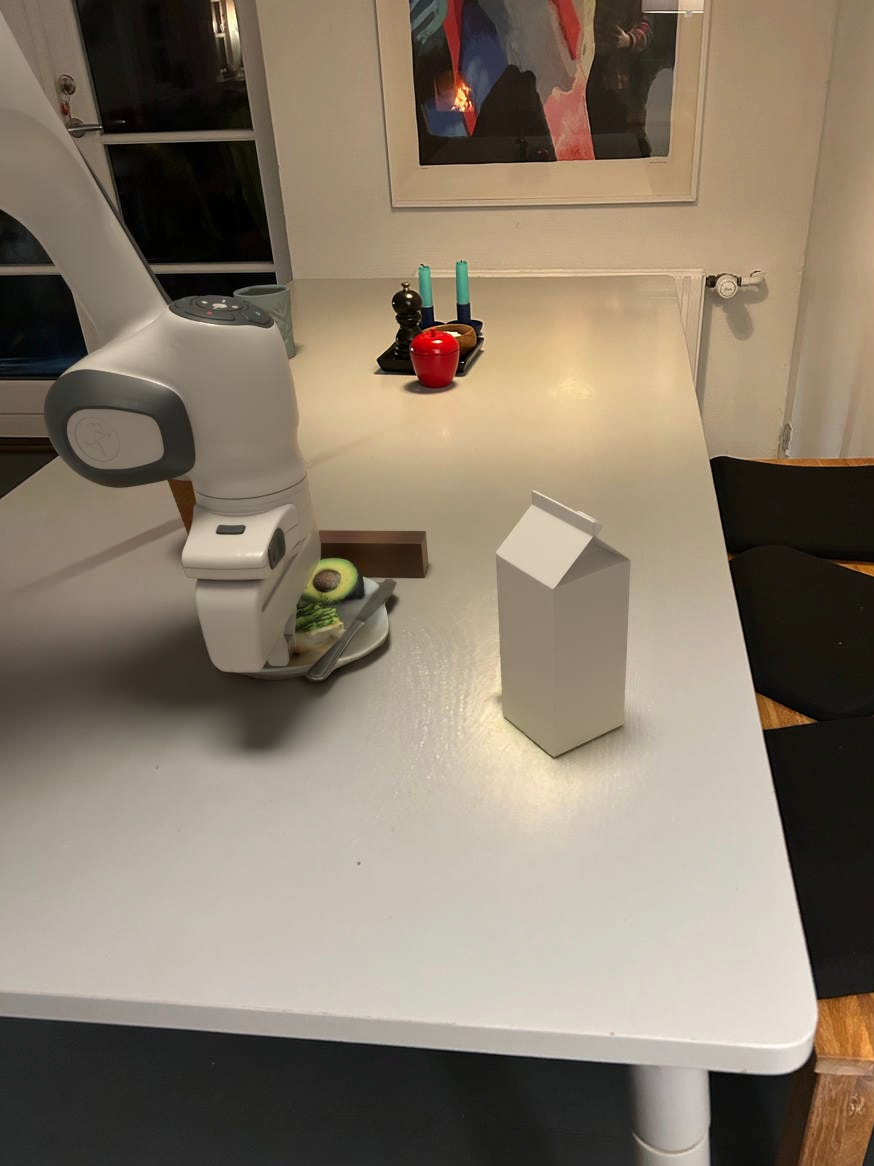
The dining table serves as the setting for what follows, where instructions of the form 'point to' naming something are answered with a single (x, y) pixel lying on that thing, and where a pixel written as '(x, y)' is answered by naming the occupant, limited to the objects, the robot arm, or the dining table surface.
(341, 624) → the salad plate
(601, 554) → the milk carton
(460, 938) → the dining table surface
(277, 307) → the drinking glass
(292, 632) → the robot arm
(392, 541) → the rail
